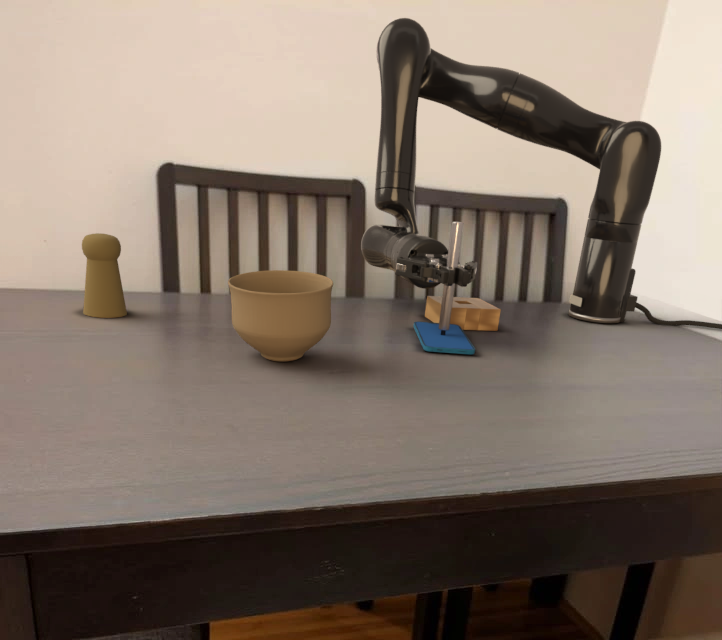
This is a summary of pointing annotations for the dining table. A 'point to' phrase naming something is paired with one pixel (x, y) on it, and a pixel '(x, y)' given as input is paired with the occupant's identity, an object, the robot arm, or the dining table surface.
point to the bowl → (281, 311)
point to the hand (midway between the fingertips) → (458, 278)
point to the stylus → (449, 290)
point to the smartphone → (443, 338)
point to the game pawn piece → (103, 277)
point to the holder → (466, 313)
